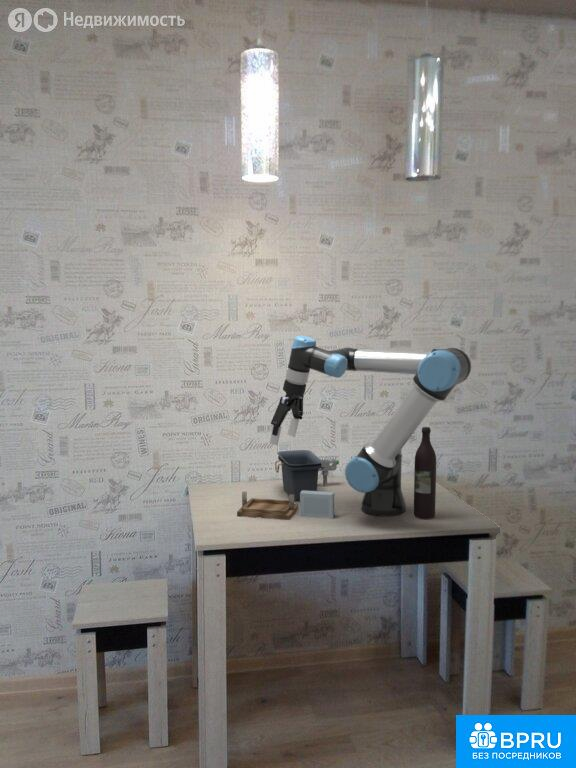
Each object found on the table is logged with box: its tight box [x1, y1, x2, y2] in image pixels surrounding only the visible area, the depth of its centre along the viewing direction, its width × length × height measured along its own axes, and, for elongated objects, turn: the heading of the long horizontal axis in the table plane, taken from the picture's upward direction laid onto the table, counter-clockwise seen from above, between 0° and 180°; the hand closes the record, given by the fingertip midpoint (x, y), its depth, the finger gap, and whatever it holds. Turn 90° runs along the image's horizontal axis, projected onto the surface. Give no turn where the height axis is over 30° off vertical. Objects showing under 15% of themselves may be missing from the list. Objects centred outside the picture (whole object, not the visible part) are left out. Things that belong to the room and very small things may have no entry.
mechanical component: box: [318, 458, 340, 487], centre depth 287 cm, size 3×10×10 cm, turn 100°
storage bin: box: [274, 449, 323, 502], centre depth 275 cm, size 21×16×14 cm
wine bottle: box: [413, 426, 437, 520], centre depth 248 cm, size 7×7×30 cm
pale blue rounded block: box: [299, 490, 335, 519], centre depth 251 cm, size 11×4×8 cm, turn 77°
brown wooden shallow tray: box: [236, 491, 299, 521], centre depth 255 cm, size 18×13×6 cm
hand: (282, 439), depth 259 cm, fingers open, 13 cm apart
